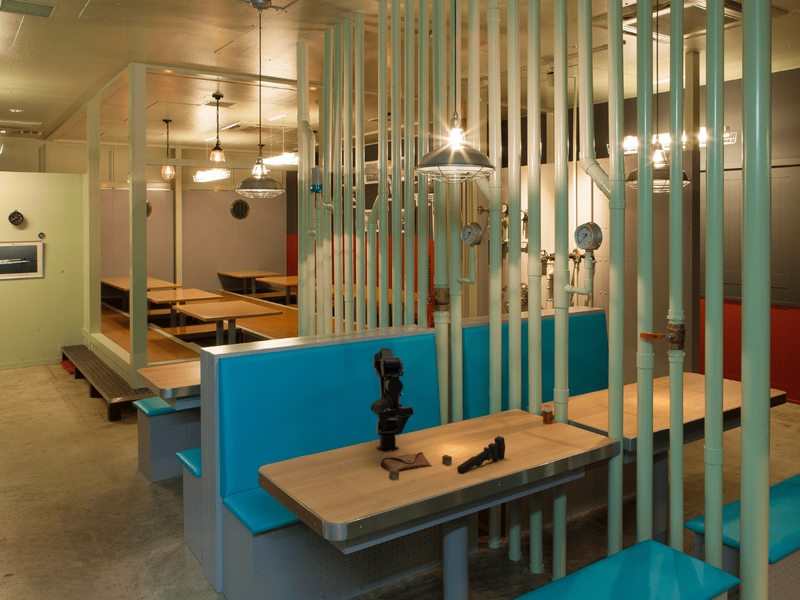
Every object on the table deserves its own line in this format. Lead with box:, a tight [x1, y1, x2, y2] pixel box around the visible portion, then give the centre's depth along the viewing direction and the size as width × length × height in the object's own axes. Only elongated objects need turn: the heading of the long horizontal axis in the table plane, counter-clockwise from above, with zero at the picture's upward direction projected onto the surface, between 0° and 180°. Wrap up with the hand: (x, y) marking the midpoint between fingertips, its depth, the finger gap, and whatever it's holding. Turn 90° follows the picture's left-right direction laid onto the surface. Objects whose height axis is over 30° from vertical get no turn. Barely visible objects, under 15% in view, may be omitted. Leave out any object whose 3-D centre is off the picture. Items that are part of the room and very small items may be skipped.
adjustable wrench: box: [456, 435, 506, 475], centre depth 242 cm, size 8×3×25 cm
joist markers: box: [388, 454, 453, 481], centre depth 235 cm, size 3×27×3 cm, turn 128°
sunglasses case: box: [380, 451, 433, 473], centre depth 241 cm, size 18×7×7 cm, turn 119°
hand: (392, 431), depth 247 cm, fingers open, 9 cm apart
